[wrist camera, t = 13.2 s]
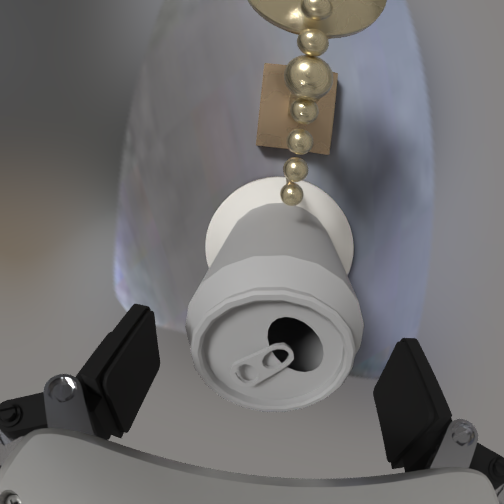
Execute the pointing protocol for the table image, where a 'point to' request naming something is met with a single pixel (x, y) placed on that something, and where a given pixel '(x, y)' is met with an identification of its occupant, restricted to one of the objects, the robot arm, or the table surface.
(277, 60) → the table surface
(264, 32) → the table surface
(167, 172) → the table surface
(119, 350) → the robot arm
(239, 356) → the can
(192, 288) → the table surface
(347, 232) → the white rounded disc
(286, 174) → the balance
